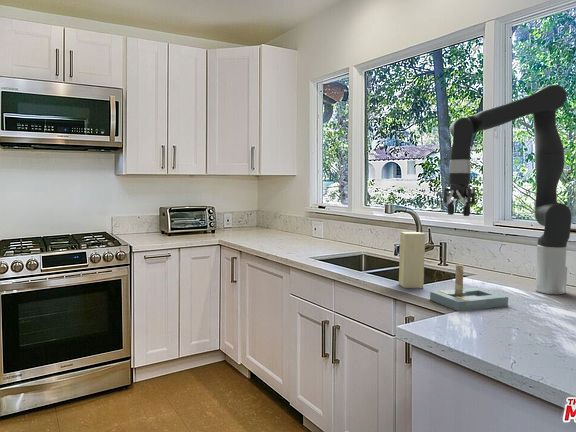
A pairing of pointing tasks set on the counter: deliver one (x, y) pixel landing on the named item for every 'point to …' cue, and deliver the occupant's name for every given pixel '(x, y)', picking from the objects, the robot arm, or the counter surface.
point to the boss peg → (459, 281)
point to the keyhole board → (469, 299)
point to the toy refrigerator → (411, 259)
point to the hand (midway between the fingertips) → (458, 215)
